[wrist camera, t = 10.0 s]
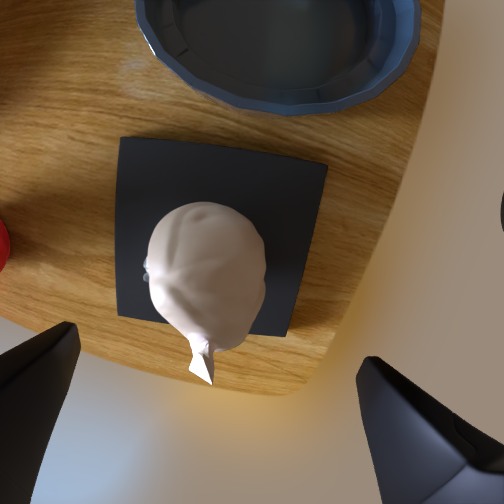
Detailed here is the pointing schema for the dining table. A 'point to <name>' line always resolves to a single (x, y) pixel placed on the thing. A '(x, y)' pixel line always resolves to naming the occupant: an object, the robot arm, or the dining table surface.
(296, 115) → the glazed bowl
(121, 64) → the dining table surface
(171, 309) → the garlic bulb
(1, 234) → the beverage can
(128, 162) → the coaster
